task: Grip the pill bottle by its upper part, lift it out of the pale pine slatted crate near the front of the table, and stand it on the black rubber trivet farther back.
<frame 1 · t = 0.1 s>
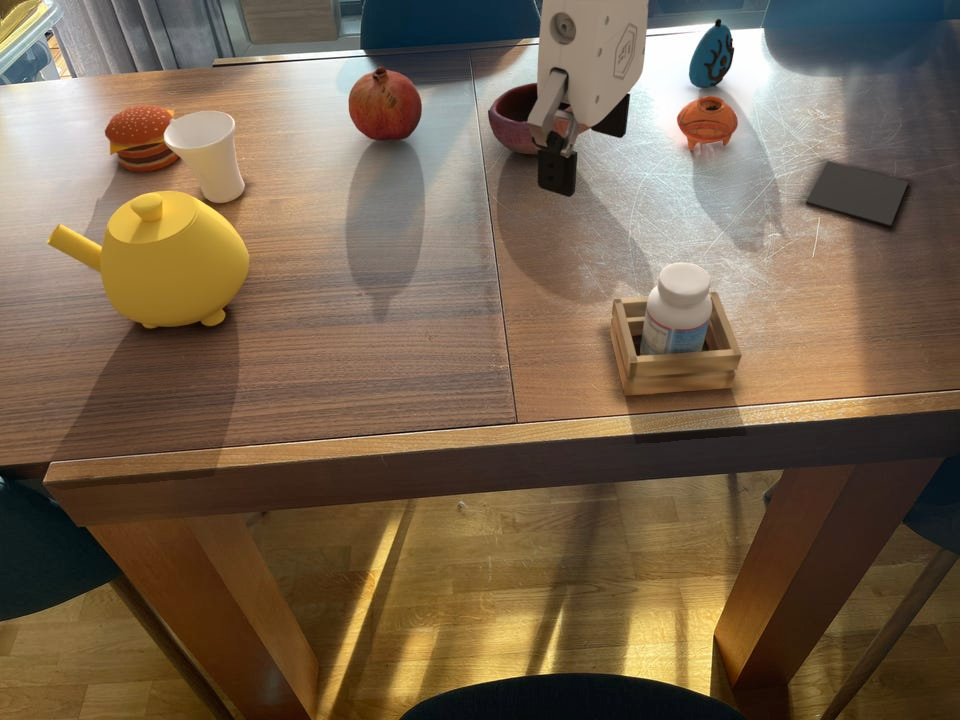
hand: (583, 160, 63), 22 cm above the table, tool pointing down, fingers open, 9 cm apart
crate: (667, 359, 76), on the table
cup: (222, 194, 99), on the table
trivet: (856, 193, 93), on the table
ornament: (706, 86, 112), on the table
pill bottle: (667, 360, 76), resting in crate
fruit: (390, 137, 107), on the table
bowl: (547, 143, 104), on the table
teapot: (173, 299, 86), on the table
hamburger: (153, 155, 107), on the table
pot: (702, 143, 102), on the table
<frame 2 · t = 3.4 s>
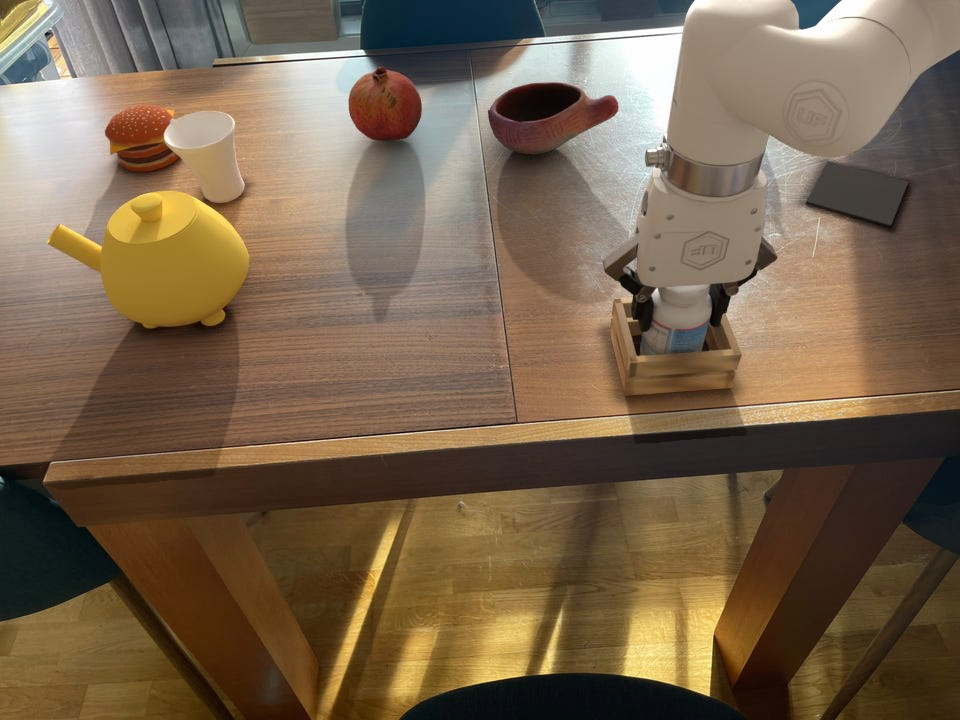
hand: (676, 318, 71), 6 cm above the table, tool pointing down, fingers closed on pill bottle, 6 cm apart
pill bottle: (667, 360, 76), resting in crate, touching gripper
everything else where it was.
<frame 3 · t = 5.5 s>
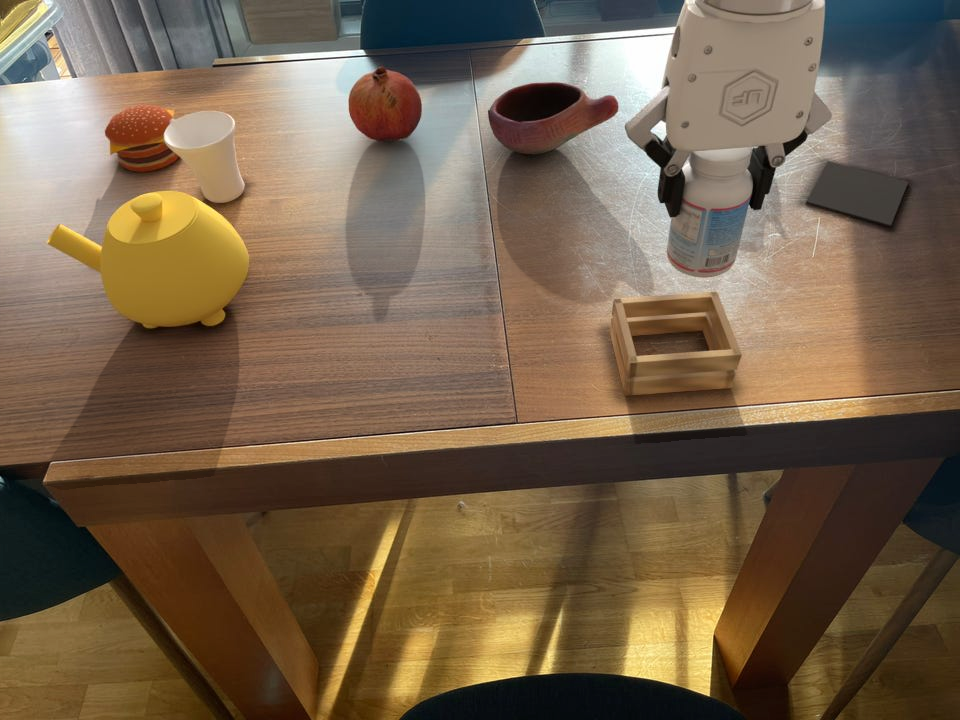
hand: (710, 202, 61), 20 cm above the table, tool pointing down, fingers closed on pill bottle, 6 cm apart
pill bottle: (698, 259, 66), point 13 cm above the table, touching gripper
everything else where it was.
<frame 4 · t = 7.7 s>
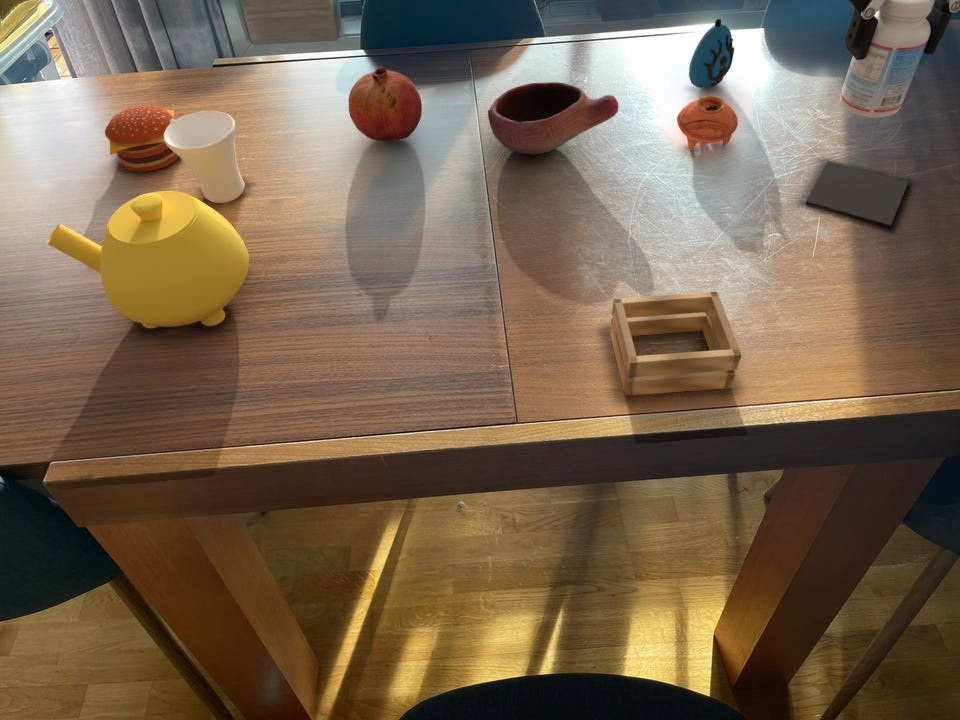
hand: (889, 49, 73), 22 cm above the table, tool pointing down, fingers closed on pill bottle, 6 cm apart
pill bottle: (867, 106, 78), point 15 cm above the table, touching gripper
everything else where it was.
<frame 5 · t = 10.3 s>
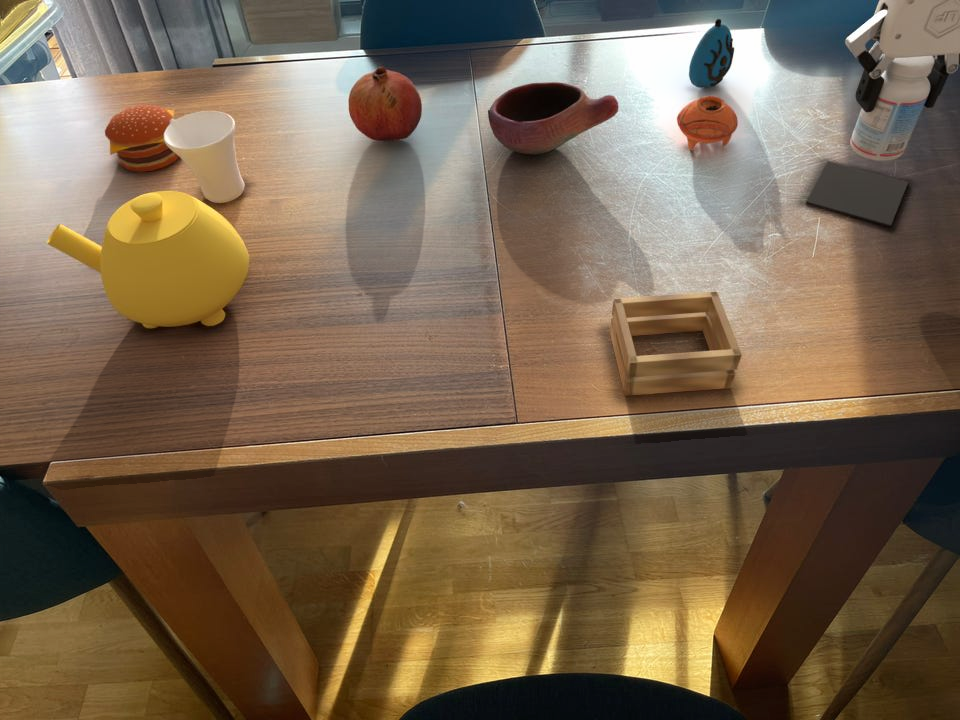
hand: (893, 102, 83), 12 cm above the table, tool pointing down, fingers closed on pill bottle, 6 cm apart
pill bottle: (874, 150, 88), point 6 cm above the table, touching gripper
everything else where it was.
when the fingers open (6 cm above the table, at t = 12.2 s): pill bottle stays where it is, resting on trivet.
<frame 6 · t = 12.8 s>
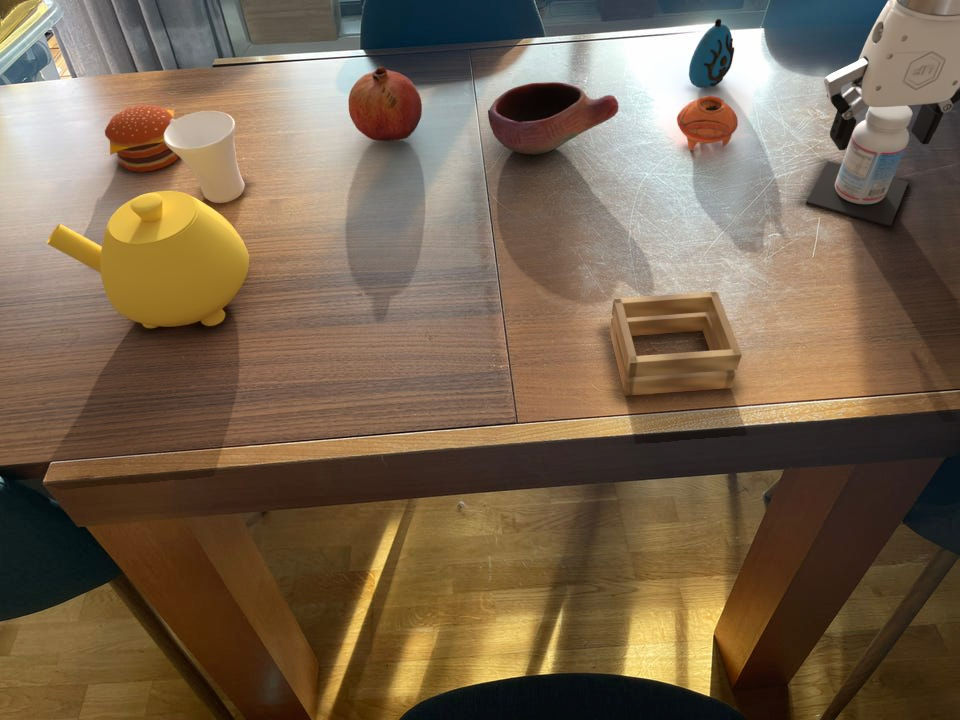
hand: (878, 140, 87), 8 cm above the table, tool pointing down, fingers open, 9 cm apart
pill bottle: (857, 193, 93), resting on trivet
everything else where it was.
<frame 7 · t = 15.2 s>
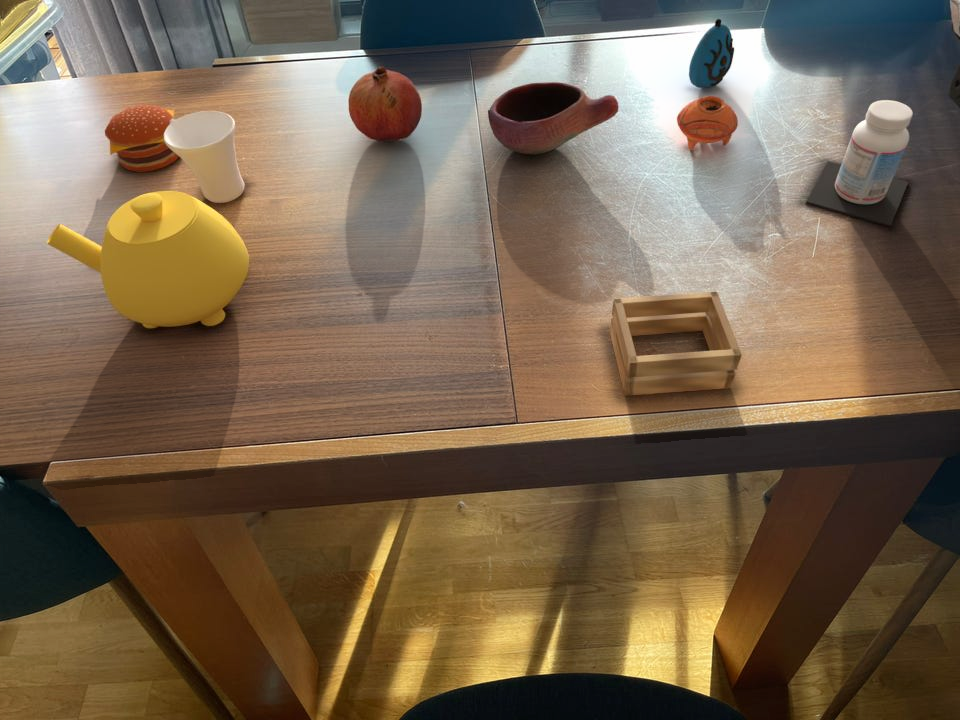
nothing on the table moved.
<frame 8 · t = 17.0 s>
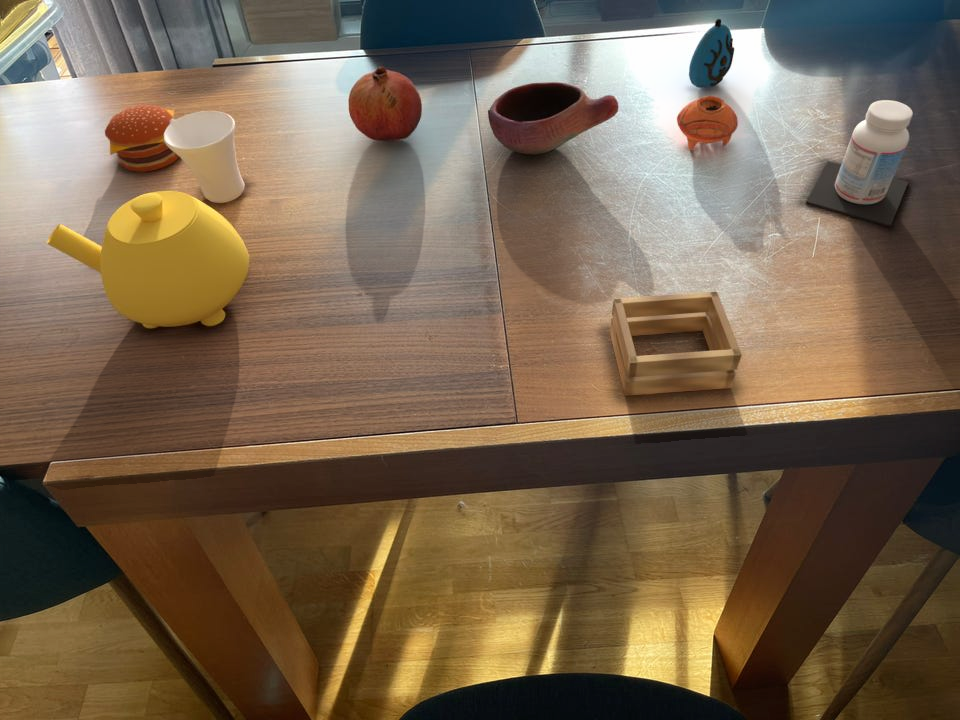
nothing on the table moved.
at the end: pill bottle inside the target area on the trivet (0.1 cm from its centre), point 0.1 cm above the trivet's base; pill bottle tilted 0°; the gripper is holding nothing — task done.
